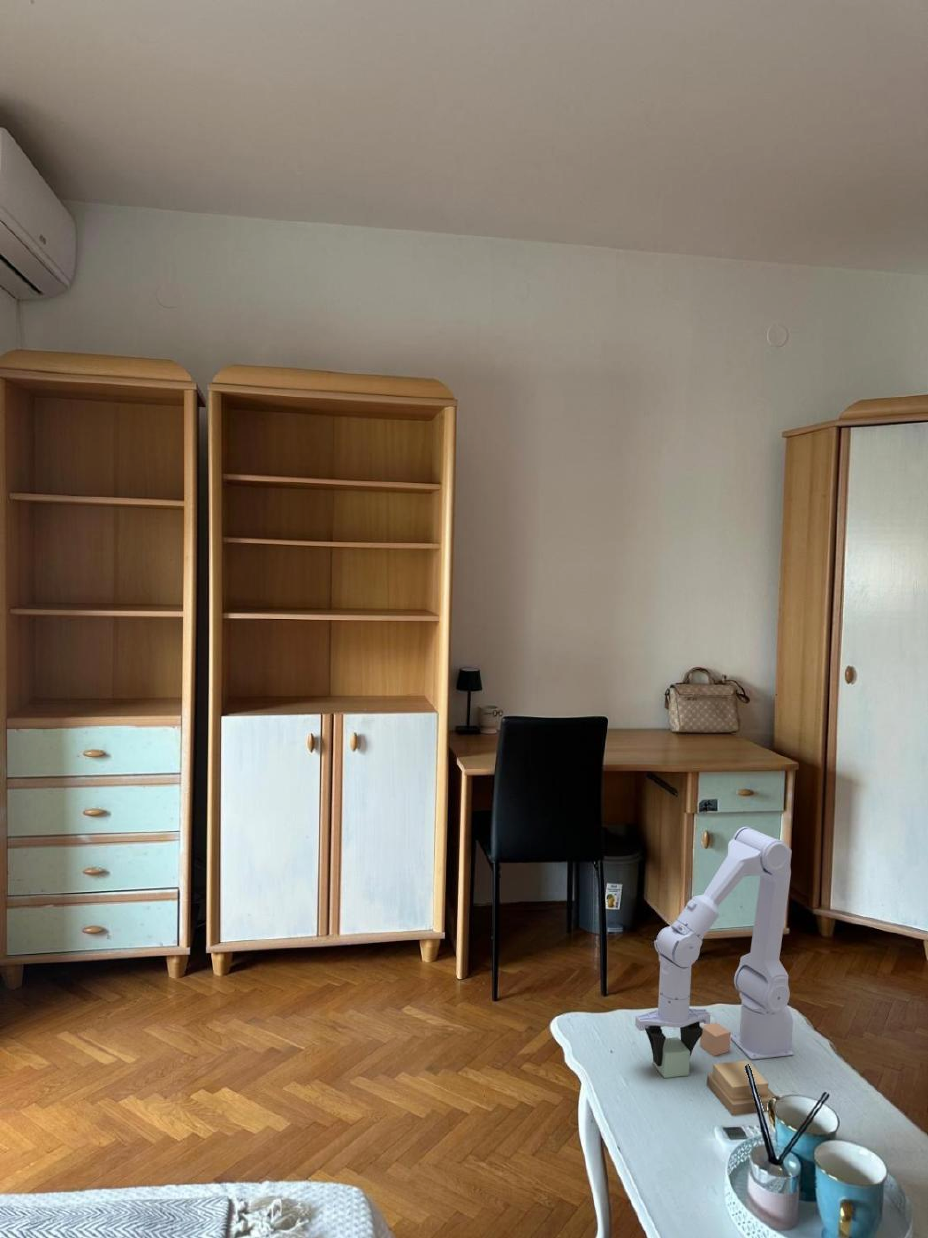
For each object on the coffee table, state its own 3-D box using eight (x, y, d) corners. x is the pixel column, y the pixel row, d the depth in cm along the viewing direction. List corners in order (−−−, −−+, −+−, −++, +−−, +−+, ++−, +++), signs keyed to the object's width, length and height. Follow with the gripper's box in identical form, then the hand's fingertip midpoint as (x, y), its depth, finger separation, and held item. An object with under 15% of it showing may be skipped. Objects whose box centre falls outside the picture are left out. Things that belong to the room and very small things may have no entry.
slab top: (746, 1072, 160) (747, 1060, 160) (767, 1096, 153) (768, 1083, 153) (712, 1076, 159) (712, 1064, 158) (731, 1100, 152) (732, 1087, 152)
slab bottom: (750, 1082, 161) (750, 1069, 161) (777, 1112, 153) (778, 1099, 152) (706, 1087, 159) (707, 1074, 159) (732, 1118, 151) (732, 1105, 150)
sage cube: (676, 1060, 167) (677, 1037, 166) (688, 1075, 162) (690, 1051, 161) (652, 1062, 165) (653, 1039, 165) (664, 1078, 161) (665, 1054, 160)
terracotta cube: (714, 1041, 174) (715, 1022, 174) (729, 1051, 170) (730, 1032, 170) (700, 1045, 172) (700, 1026, 172) (714, 1056, 168) (715, 1036, 168)
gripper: (699, 979, 168) (695, 1046, 169) (630, 985, 165) (626, 1053, 166) (717, 997, 161) (713, 1067, 162) (645, 1004, 158) (642, 1075, 159)
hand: (670, 1061), depth 164 cm, fingers closed on sage cube, 5 cm apart
